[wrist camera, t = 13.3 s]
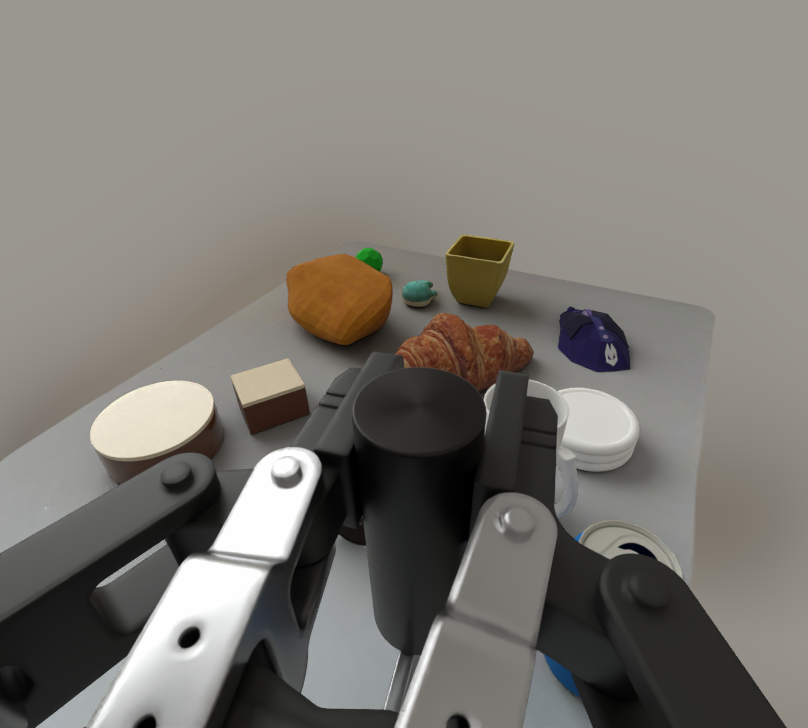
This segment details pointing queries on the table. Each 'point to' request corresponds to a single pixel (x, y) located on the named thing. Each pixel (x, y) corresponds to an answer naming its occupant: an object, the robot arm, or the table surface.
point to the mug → (563, 455)
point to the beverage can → (610, 543)
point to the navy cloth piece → (593, 340)
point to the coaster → (598, 429)
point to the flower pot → (477, 268)
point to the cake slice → (270, 395)
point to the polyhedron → (371, 258)
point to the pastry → (466, 350)
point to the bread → (339, 298)
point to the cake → (156, 427)
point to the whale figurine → (418, 293)
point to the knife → (415, 499)
